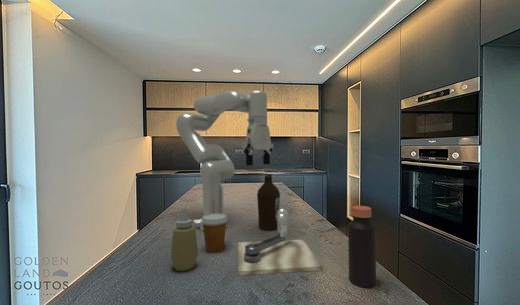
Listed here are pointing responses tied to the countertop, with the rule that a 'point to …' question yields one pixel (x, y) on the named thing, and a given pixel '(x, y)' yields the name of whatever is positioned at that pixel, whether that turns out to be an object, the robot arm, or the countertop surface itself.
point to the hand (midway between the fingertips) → (258, 164)
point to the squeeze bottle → (184, 244)
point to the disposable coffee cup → (214, 231)
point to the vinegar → (362, 248)
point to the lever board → (278, 259)
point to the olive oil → (268, 204)
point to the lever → (281, 234)
